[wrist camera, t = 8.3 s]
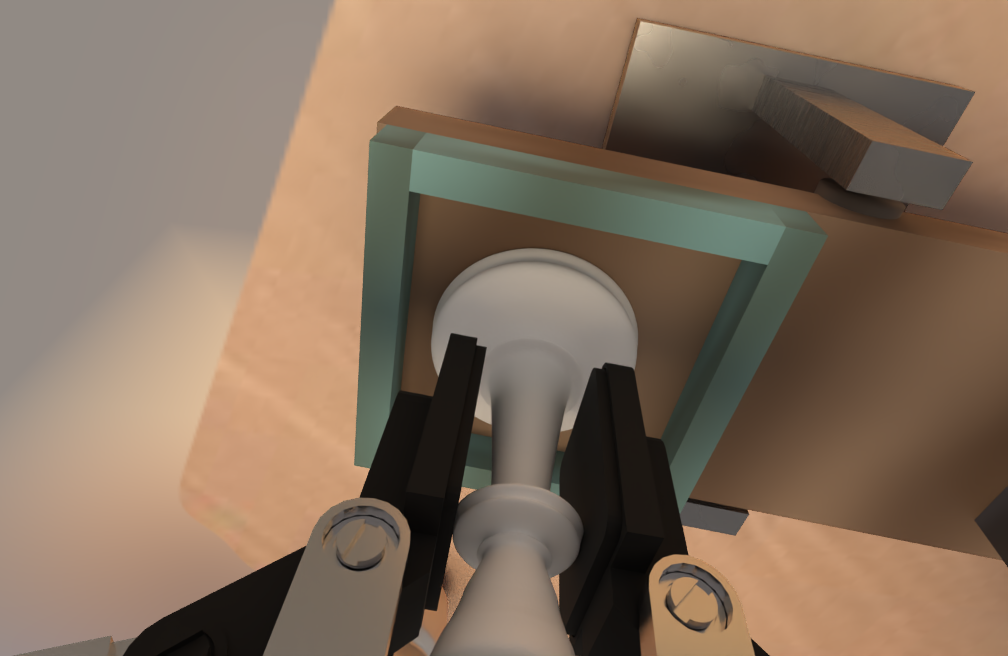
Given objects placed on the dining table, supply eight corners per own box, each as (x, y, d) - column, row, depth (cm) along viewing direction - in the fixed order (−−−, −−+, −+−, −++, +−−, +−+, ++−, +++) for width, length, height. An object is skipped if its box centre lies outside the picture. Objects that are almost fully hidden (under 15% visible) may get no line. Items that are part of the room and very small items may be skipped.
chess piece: (455, 221, 12) (225, 754, 4) (671, 281, 13) (869, 894, 4) (417, 390, 15) (230, 925, 7) (596, 437, 15) (631, 1006, 7)
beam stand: (956, 85, 18) (1202, 168, 11) (773, 402, 25) (851, 574, 18) (637, 17, 17) (682, 58, 11) (545, 357, 25) (536, 512, 18)
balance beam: (1273, 270, 14) (1492, 367, 10) (1021, 512, 19) (1117, 630, 15) (406, 88, 13) (353, 131, 10) (383, 384, 18) (342, 477, 15)
